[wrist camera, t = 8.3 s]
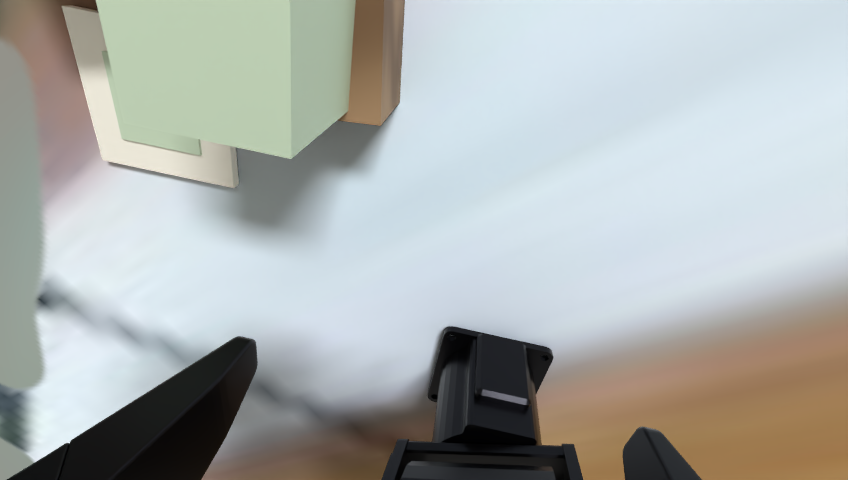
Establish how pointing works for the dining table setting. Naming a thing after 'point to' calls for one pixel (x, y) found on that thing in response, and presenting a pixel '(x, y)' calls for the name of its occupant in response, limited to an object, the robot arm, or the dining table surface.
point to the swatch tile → (136, 141)
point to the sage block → (232, 68)
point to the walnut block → (375, 61)
